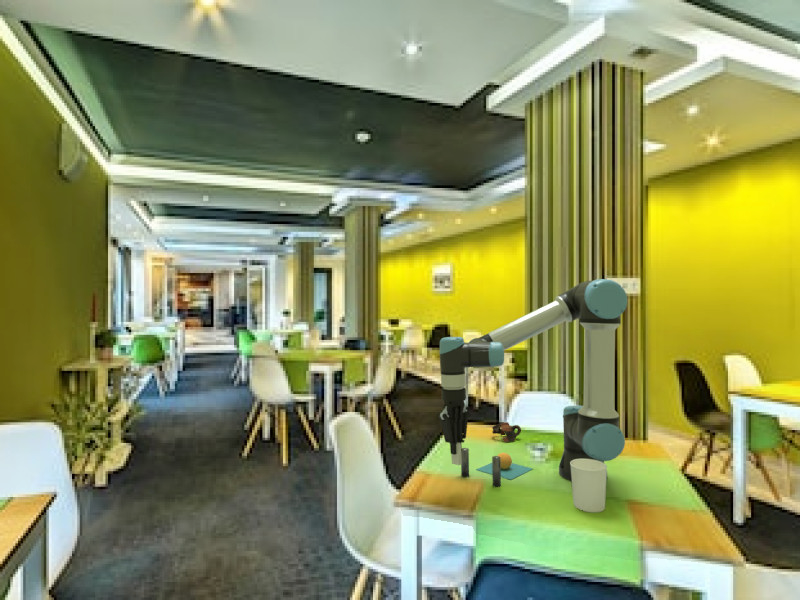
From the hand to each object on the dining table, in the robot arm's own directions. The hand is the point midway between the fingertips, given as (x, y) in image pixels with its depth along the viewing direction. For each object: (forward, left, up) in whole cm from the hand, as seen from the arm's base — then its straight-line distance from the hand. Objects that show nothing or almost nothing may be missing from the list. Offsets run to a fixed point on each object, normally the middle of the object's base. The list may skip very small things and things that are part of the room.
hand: (456, 463), depth 148 cm
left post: (+7, -13, -9) cm, 17 cm away
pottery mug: (+20, -58, -9) cm, 62 cm away
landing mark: (0, -27, -9) cm, 28 cm away
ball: (+1, -27, -6) cm, 28 cm away
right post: (-6, -13, -9) cm, 16 cm away
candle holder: (-34, -18, -9) cm, 39 cm away
